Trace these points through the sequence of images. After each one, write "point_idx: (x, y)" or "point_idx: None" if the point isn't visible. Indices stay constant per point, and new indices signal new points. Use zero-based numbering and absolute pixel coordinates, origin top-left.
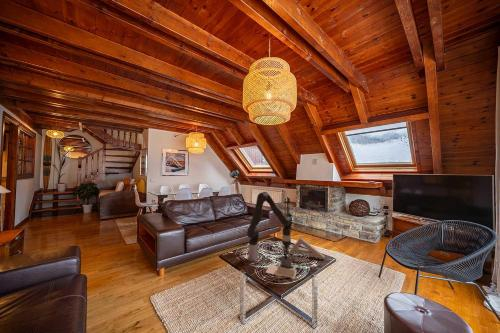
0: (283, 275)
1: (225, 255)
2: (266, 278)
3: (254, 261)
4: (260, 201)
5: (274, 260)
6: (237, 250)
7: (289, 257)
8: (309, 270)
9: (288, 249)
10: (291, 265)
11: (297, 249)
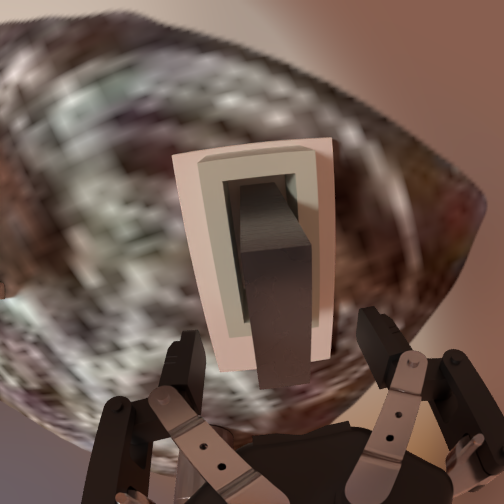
0: (325, 239)
1: None
2: None
3: (226, 430)
4: None
5: (131, 358)
6: None
7: (274, 285)
8: (110, 56)
9: (204, 422)
10: (259, 204)
11: None
